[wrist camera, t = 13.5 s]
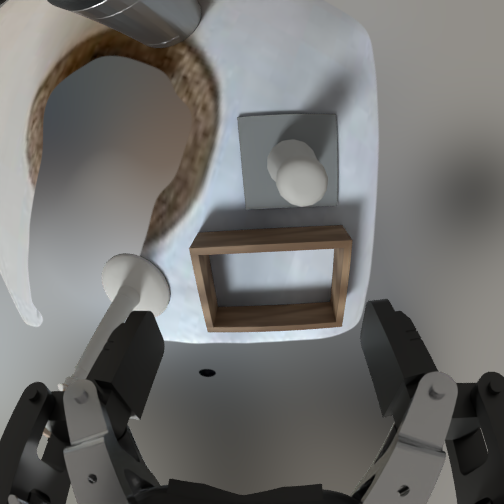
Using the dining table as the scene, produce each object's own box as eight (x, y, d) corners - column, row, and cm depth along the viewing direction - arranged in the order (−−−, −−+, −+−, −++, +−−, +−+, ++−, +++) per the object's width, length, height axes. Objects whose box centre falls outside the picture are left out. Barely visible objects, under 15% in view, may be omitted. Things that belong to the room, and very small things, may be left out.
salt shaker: (319, 146, 31) (349, 161, 19) (306, 188, 34) (327, 226, 22) (273, 132, 31) (277, 138, 19) (261, 176, 33) (258, 208, 22)
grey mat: (237, 117, 30) (237, 117, 30) (334, 114, 29) (335, 114, 29) (246, 208, 36) (245, 209, 35) (336, 204, 35) (337, 205, 34)
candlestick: (148, 244, 39) (30, 413, 12) (182, 310, 44) (124, 479, 18) (91, 264, 41) (-13, 394, 15) (126, 320, 47) (58, 455, 20)
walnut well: (198, 232, 38) (189, 248, 33) (342, 225, 36) (352, 240, 32) (213, 311, 44) (207, 332, 40) (335, 306, 42) (341, 326, 38)
